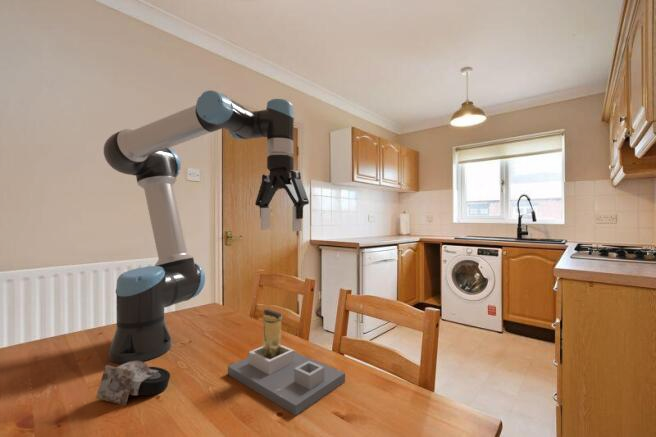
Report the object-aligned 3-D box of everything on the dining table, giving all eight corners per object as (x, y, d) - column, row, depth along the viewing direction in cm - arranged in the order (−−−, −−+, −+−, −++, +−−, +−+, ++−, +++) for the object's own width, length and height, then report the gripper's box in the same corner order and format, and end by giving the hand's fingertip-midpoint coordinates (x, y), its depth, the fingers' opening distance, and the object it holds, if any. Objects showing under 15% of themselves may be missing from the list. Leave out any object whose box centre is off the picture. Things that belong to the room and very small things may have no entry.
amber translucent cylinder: (257, 362, 76) (258, 311, 76) (271, 356, 80) (273, 307, 80) (271, 369, 73) (272, 316, 73) (285, 362, 77) (286, 311, 77)
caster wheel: (171, 392, 72) (144, 413, 62) (127, 380, 72) (93, 398, 63) (179, 363, 72) (154, 379, 62) (136, 351, 73) (103, 365, 63)
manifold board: (227, 374, 75) (227, 353, 75) (277, 351, 87) (277, 334, 87) (295, 415, 59) (295, 390, 59) (345, 381, 72) (345, 360, 72)
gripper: (321, 152, 82) (321, 231, 82) (263, 162, 98) (263, 228, 98) (302, 147, 76) (302, 232, 77) (243, 159, 92) (243, 229, 93)
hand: (280, 230), depth 87 cm, fingers open, 13 cm apart
